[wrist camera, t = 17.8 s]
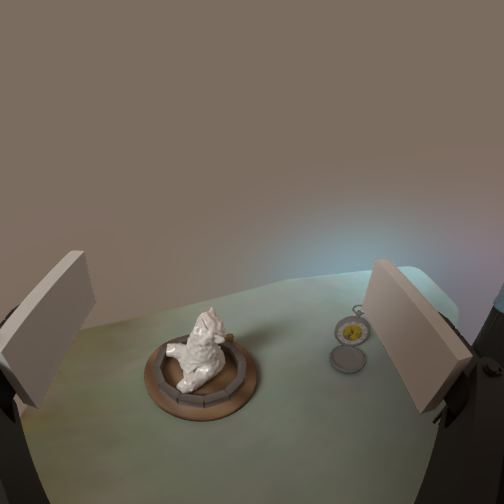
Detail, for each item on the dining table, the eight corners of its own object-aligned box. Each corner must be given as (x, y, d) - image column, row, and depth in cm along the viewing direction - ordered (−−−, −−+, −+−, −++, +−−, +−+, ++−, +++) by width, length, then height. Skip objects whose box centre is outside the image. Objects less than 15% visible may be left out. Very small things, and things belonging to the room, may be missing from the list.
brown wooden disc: (195, 326, 53) (194, 313, 52) (276, 367, 45) (278, 354, 44) (124, 377, 39) (119, 364, 38) (210, 443, 31) (208, 433, 30)
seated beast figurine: (163, 349, 43) (163, 294, 37) (212, 341, 47) (221, 288, 41) (179, 397, 36) (180, 348, 30) (233, 385, 40) (248, 335, 34)
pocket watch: (340, 379, 42) (357, 336, 38) (317, 347, 50) (329, 304, 45) (376, 365, 45) (395, 323, 41) (352, 337, 52) (366, 296, 48)
